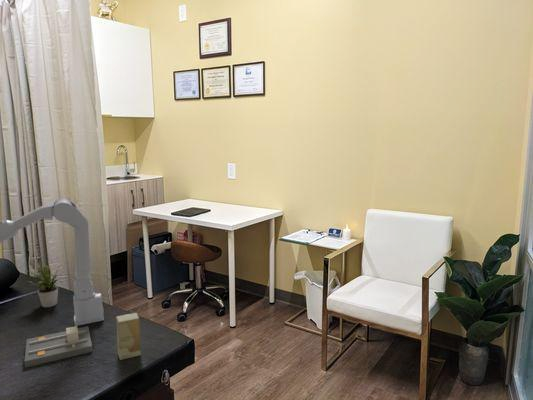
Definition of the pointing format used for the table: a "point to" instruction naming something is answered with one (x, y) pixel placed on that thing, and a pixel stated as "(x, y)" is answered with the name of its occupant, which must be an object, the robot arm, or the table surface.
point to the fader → (72, 334)
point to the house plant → (47, 287)
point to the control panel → (56, 347)
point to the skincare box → (128, 335)
